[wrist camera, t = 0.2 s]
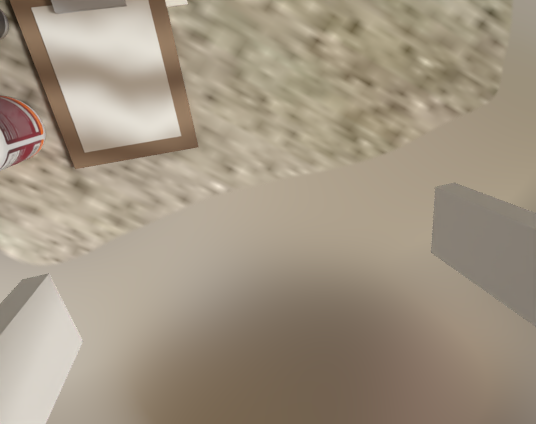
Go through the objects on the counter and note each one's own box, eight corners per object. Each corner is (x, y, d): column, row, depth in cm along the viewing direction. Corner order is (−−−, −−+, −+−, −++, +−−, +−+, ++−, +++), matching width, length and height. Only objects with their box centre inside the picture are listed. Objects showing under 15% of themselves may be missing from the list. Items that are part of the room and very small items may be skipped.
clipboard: (9, -9, 28) (0, -13, 27) (159, -24, 30) (157, -30, 28) (77, 167, 34) (72, 170, 33) (198, 146, 36) (198, 148, 34)
